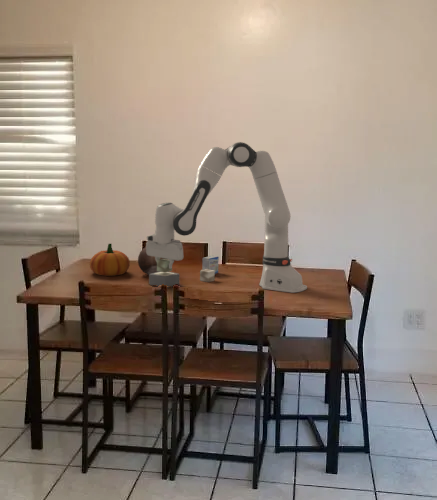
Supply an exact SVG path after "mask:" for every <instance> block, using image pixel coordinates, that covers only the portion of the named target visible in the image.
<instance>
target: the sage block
mask: <svg viewBox="0 0 437 500" xmlns="http://www.w3.org/2000/svg"><path fill="white" fill-rule="evenodd" d="M169 263H170V261H169V259H161V260H157V271H160V272H173V267H172V268H171V269H169V268H167V267H168V266H167V265H168V264H169Z"/></svg>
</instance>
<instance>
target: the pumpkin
mask: <svg viewBox="0 0 437 500" xmlns="http://www.w3.org/2000/svg"><path fill="white" fill-rule="evenodd" d="M112 247H113V246H112V243H107V249H106V250H100V251H98V252H96V253H95V254H94V255H93V256H92V257H91V259H90V261H89V267H90V270H91V271H92V272H93V273H94V274H97V275H100V276H101V277H102V276H105V277H106V276H107V277H114V276H120V275H123V274H126V272H127V271H128V270H129V269H130V265H131V261H130V258H129V257H128V256H127V254H125V253H124V252H122V251H120V250H116V249H115V250H113V248H112Z"/></svg>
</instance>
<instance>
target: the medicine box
mask: <svg viewBox="0 0 437 500" xmlns="http://www.w3.org/2000/svg"><path fill="white" fill-rule="evenodd" d="M219 258H220V257H219V256H217V255H210V256H209V255H208V256H206V257H202V269H201V270H205V269H209V270H215V275H216V274H219Z"/></svg>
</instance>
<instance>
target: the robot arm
mask: <svg viewBox="0 0 437 500" xmlns="http://www.w3.org/2000/svg"><path fill="white" fill-rule="evenodd" d="M230 166H234V167H236V168H245V167H248V169H249V170H250V172H251V175H252V178H253V182H254V185H255V188H256V192H257V194H258V198H259V201H260V204H261V207H262V209H263V213H264V241H263V242H264V244H263V245H264V246H263V247H264V248H263V250H264V251H263V255H262V272H261V278H260V280H259V281H260V282H259V286H260V287H261V288H262V290H271V291H277V292H283V293H292V294H293V293H301V292H304V291H306V290H307V289H308V285H305V284H303V276H302V274H301V273H299V271H298V270H296V269H295V268H294V266H292V264H291V262H292V261H293V258H289V256H288V255H289V252H288V251H289V223H290V221H291V212H290V209H289V206H288V202H287V200H286V197H285V194H284V190H283V188H282V183H281V180H280V178H279V174H278V172H277V168H276V165H275V164H274V161H273V159H272V157H271V155H270V154H269V152H268V151H265V150H259V151H255V149H253V147H251V146H250V145H249V144H247V143H245V142H242V141H238V142H234V143H232V144H231V145H229V147H227V148H222V147H220V146H219V147H218V146H214V147H212V148H210V149H209V151H208V152H207V153H206V154H205V155H204V157H203V159H202V160H201V163H200V164H199V166H198V168H197V170H196V173H195V175H194V181H193V182H194V184H193V185H194V186H193V190H192V194H191V195H190V198H189V199H188V201H187V203H186V206H185V207H184V209H183V208H181V207H179V206H177V205H176V204H174V203H173V202H163V203H160V204H158V205H157V206H156V208H155V216H154V218H155V219H154V223H155V230H154V231H155V232H154V233H153V234H150V235H147V236H146V241H147V242H146V243H145V247H146V253H147V255H148V256H154V257H155V260H156V262H157V260H160V258H165V259H168V260H169V261H170V263H169V264H168V265H167V266H168V267H167V268H169V269H171V268H172V269H173V264H174V263H175V261H182V260H183V259H184V247H183V243H182V241H180V240H179V239H175V233H177V234H178V235H180V236H184V237H185V236H190V235H191V234H193V232H195V230H196V228H197V217H198V215H199V213H200V210H201V209H202V207H203V205H204V203H205V201H206V199H207V197H208V196H209V194H210V193H212V191H213V189H215V187H216V185H218V183H219V181H221V180H220V179H221V178H222V176H223V174H224V172H225V170H226V169H227V168H228V167H230Z"/></svg>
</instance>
